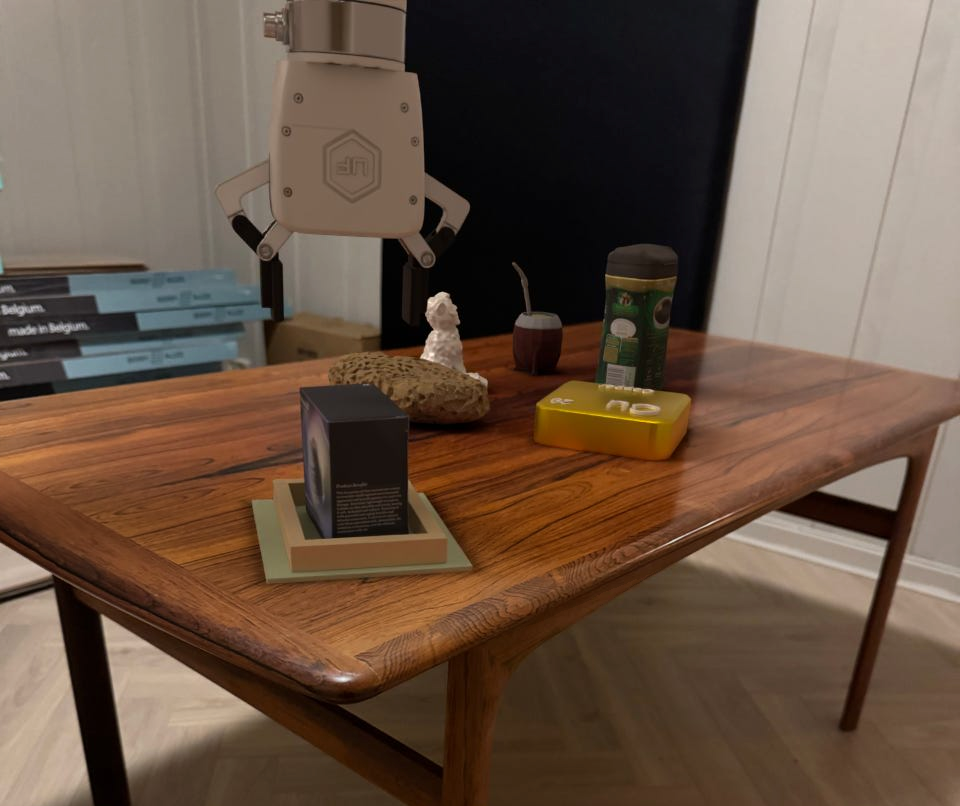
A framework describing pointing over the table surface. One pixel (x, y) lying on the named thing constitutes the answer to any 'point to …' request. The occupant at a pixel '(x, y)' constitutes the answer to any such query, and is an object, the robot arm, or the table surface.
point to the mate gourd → (536, 338)
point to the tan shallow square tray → (349, 542)
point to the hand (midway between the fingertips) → (345, 321)
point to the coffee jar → (637, 316)
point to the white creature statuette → (445, 335)
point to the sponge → (416, 386)
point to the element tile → (612, 420)
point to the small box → (354, 461)
